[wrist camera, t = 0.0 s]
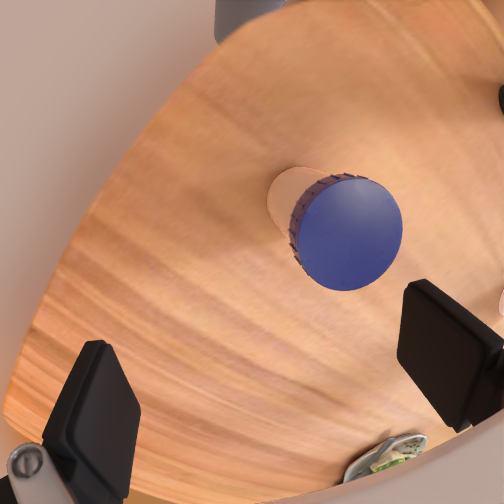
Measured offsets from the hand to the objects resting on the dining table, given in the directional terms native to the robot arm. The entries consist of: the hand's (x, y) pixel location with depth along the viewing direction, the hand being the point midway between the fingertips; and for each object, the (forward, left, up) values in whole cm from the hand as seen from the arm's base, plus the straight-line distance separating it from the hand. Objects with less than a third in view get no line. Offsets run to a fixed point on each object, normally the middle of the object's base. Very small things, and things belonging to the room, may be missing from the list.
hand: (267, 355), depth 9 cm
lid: (0, +6, -8) cm, 11 cm away
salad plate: (+49, +19, -19) cm, 56 cm away
